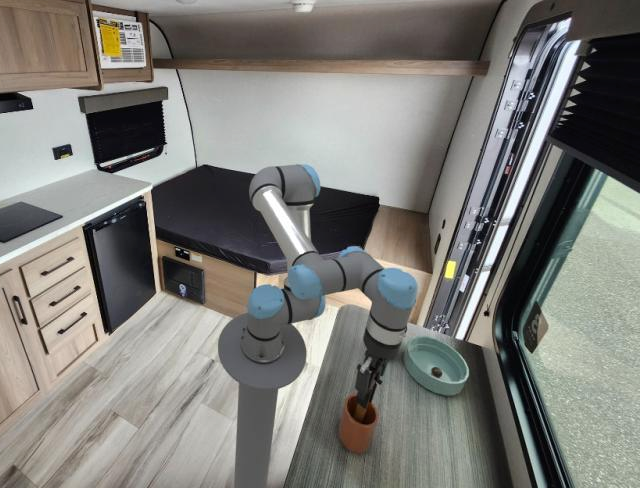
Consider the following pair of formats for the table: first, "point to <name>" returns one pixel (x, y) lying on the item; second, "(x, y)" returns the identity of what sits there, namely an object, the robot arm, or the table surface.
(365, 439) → the crock
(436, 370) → the bead
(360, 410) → the stick
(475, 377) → the table surface
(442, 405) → the table surface
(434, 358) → the bowl
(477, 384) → the table surface
